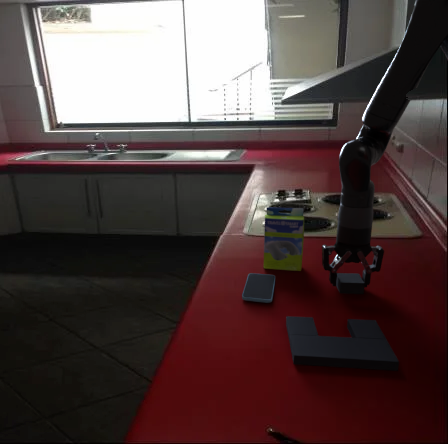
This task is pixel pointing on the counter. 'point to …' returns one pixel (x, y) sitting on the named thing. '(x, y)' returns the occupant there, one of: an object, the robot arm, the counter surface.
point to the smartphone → (259, 288)
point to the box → (283, 239)
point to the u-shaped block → (340, 345)
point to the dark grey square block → (350, 283)
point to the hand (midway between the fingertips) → (349, 285)
